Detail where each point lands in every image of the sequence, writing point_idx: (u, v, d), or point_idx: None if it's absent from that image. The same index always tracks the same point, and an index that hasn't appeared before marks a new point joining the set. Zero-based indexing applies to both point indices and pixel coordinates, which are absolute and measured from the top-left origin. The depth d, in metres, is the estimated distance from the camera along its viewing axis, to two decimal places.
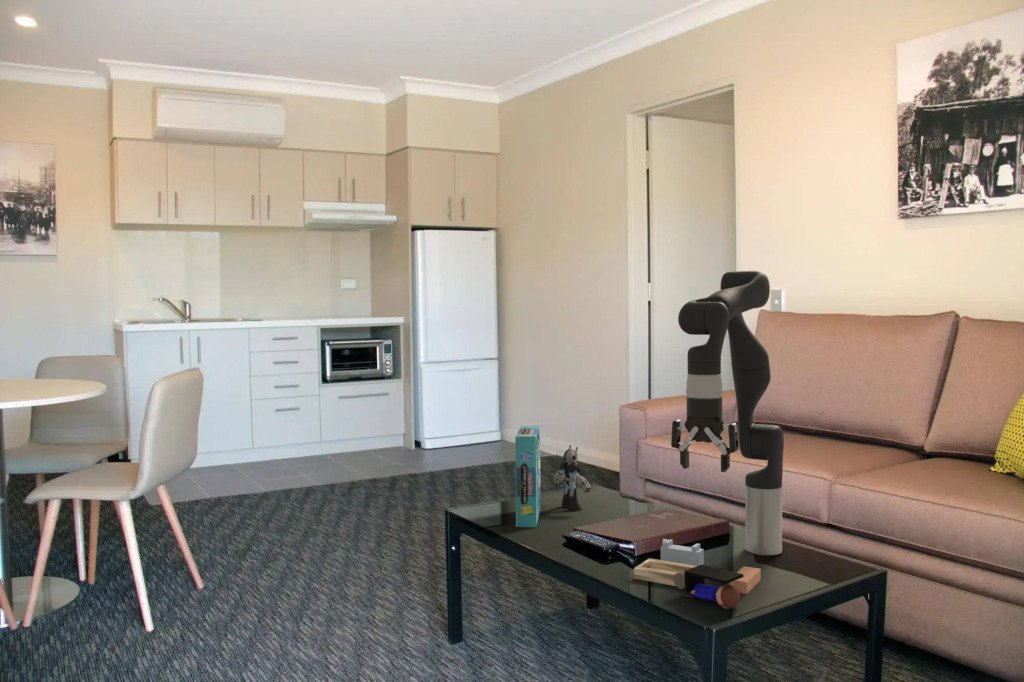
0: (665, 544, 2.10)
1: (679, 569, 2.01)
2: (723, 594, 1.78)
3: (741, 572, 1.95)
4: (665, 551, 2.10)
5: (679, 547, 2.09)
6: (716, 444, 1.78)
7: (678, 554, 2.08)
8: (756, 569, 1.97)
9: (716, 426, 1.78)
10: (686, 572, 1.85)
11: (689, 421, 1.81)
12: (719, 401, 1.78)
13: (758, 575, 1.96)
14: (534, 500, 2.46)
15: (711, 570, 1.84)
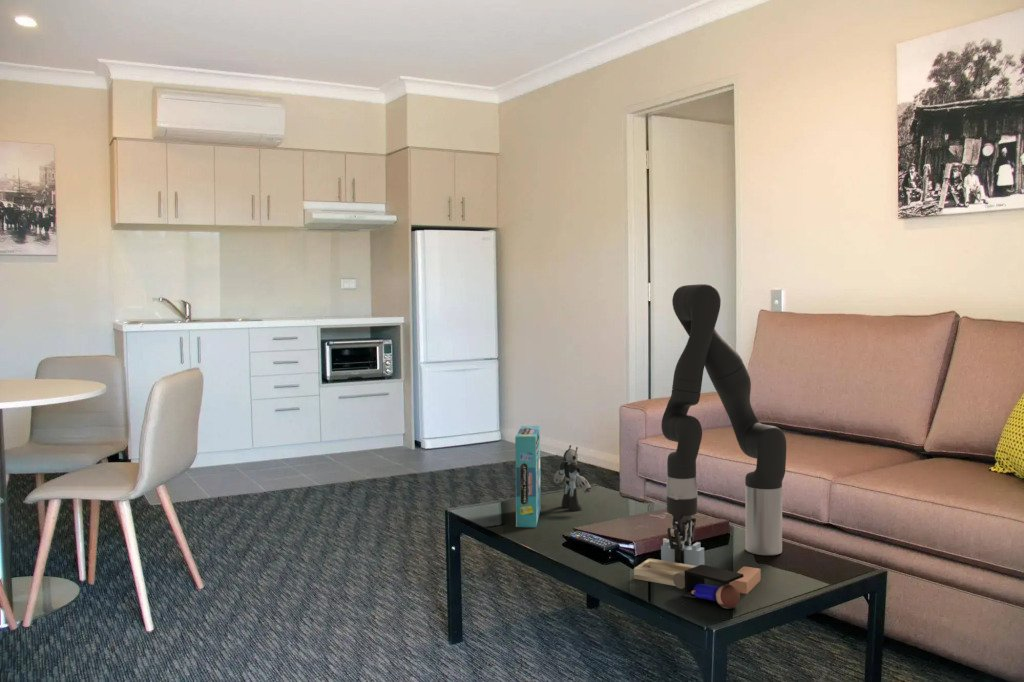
0: (665, 543, 2.10)
1: (679, 569, 2.01)
2: (723, 594, 1.78)
3: (741, 572, 1.95)
4: (665, 550, 2.10)
5: None
6: (691, 536, 2.10)
7: None
8: (756, 569, 1.97)
9: (690, 517, 2.11)
10: (686, 572, 1.85)
11: (681, 521, 2.05)
12: None
13: (758, 575, 1.96)
14: (534, 500, 2.46)
15: (711, 570, 1.84)
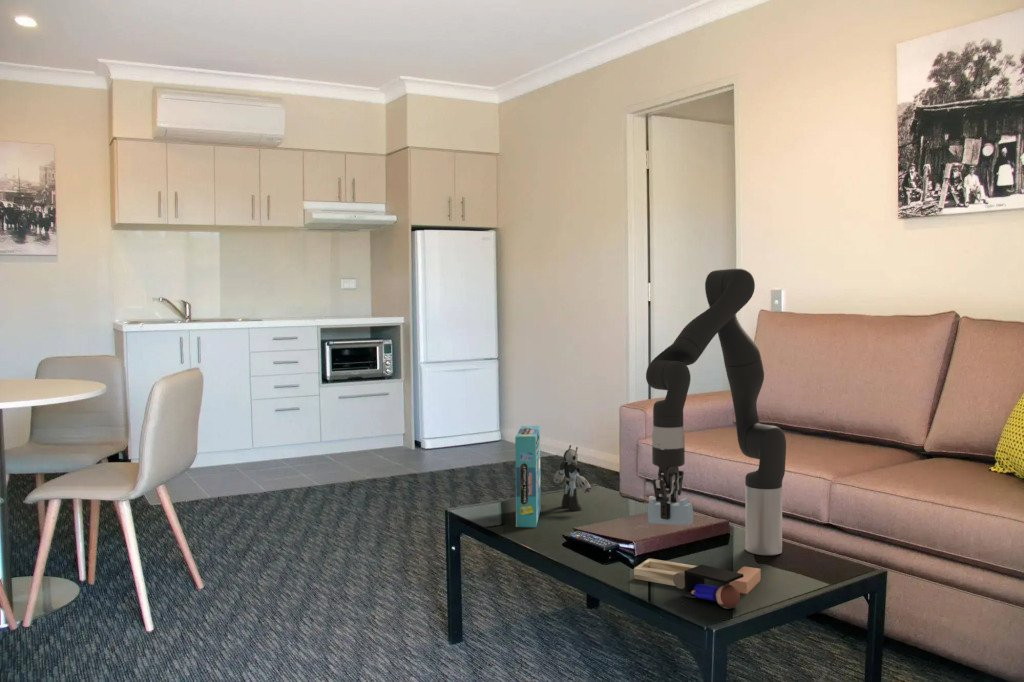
0: (652, 501, 1.99)
1: (679, 569, 2.01)
2: (723, 594, 1.78)
3: (741, 572, 1.95)
4: (652, 508, 1.99)
5: None
6: (678, 489, 1.99)
7: None
8: (756, 569, 1.97)
9: (677, 470, 2.00)
10: (686, 572, 1.85)
11: (667, 472, 1.95)
12: None
13: (758, 575, 1.96)
14: (534, 500, 2.46)
15: (711, 570, 1.84)
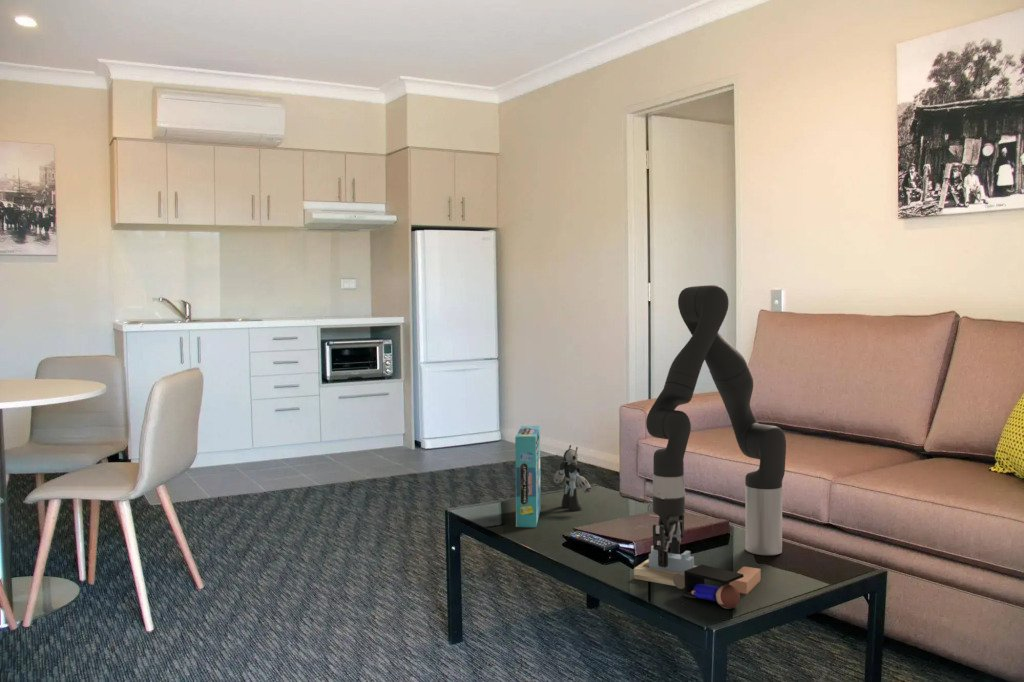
0: (653, 551, 2.00)
1: None
2: (723, 594, 1.78)
3: (741, 572, 1.95)
4: (653, 558, 2.00)
5: (668, 555, 1.99)
6: (680, 535, 2.01)
7: (668, 561, 1.98)
8: (756, 569, 1.97)
9: (677, 518, 2.01)
10: (686, 572, 1.85)
11: (668, 521, 1.96)
12: None
13: (758, 575, 1.96)
14: (534, 500, 2.46)
15: (711, 570, 1.84)
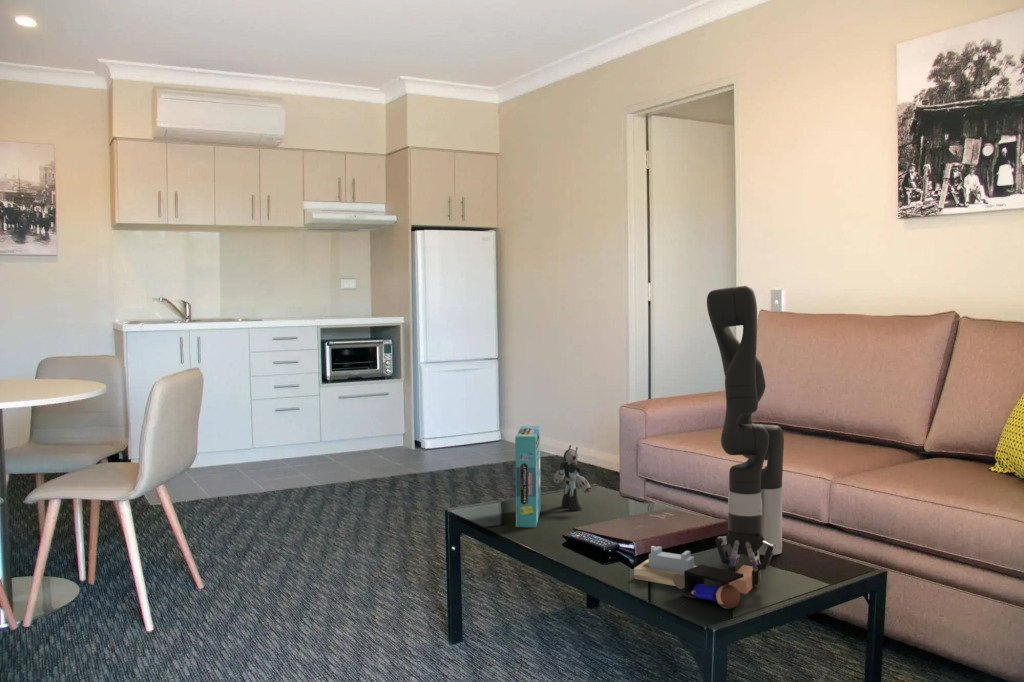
0: (653, 551, 2.00)
1: None
2: (723, 594, 1.78)
3: (741, 571, 1.95)
4: (653, 558, 2.00)
5: (668, 555, 1.99)
6: None
7: (668, 561, 1.98)
8: None
9: None
10: (686, 572, 1.85)
11: None
12: None
13: None
14: (534, 500, 2.46)
15: (711, 570, 1.84)
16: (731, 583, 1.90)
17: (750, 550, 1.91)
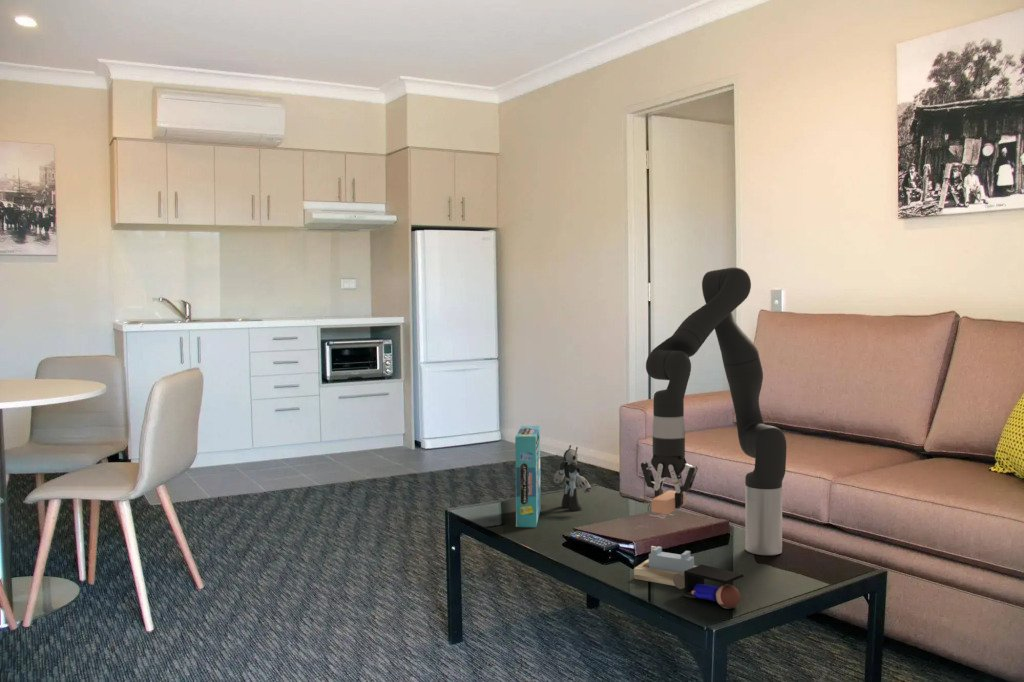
0: (653, 551, 2.00)
1: None
2: (723, 594, 1.78)
3: (665, 494, 2.00)
4: (653, 558, 2.00)
5: (668, 555, 1.99)
6: None
7: (668, 561, 1.98)
8: None
9: None
10: (686, 572, 1.85)
11: None
12: None
13: None
14: (534, 500, 2.46)
15: (711, 570, 1.84)
16: (654, 504, 1.95)
17: (673, 472, 1.96)
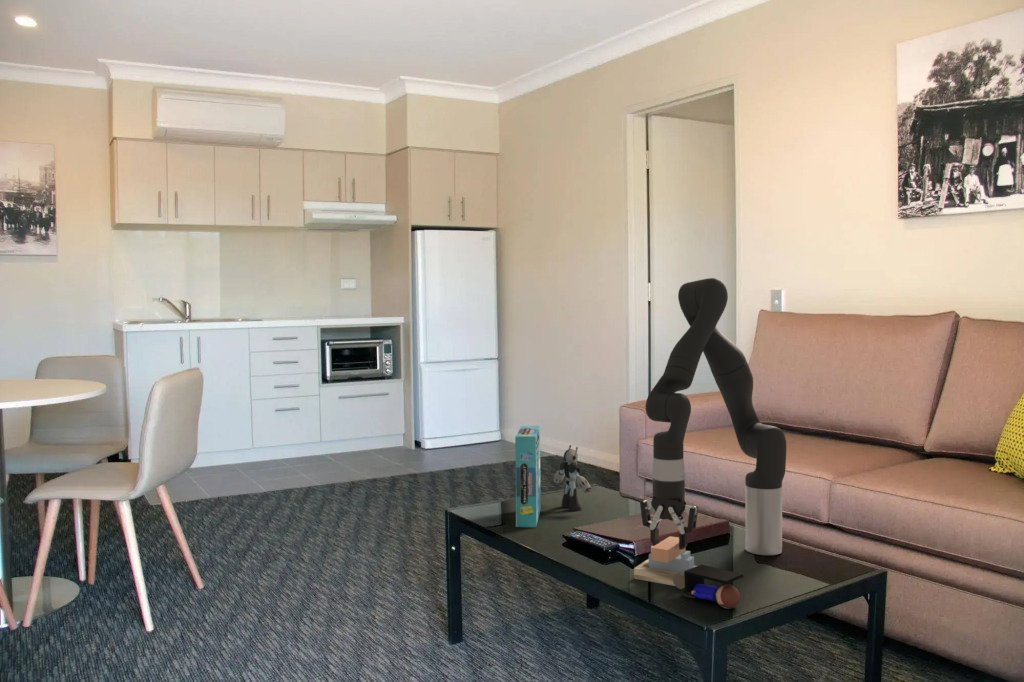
0: None
1: None
2: (724, 594, 1.78)
3: (665, 541, 2.00)
4: None
5: None
6: None
7: None
8: None
9: None
10: (686, 572, 1.85)
11: None
12: None
13: None
14: (534, 500, 2.46)
15: (711, 570, 1.84)
16: (654, 552, 1.95)
17: (674, 514, 1.96)
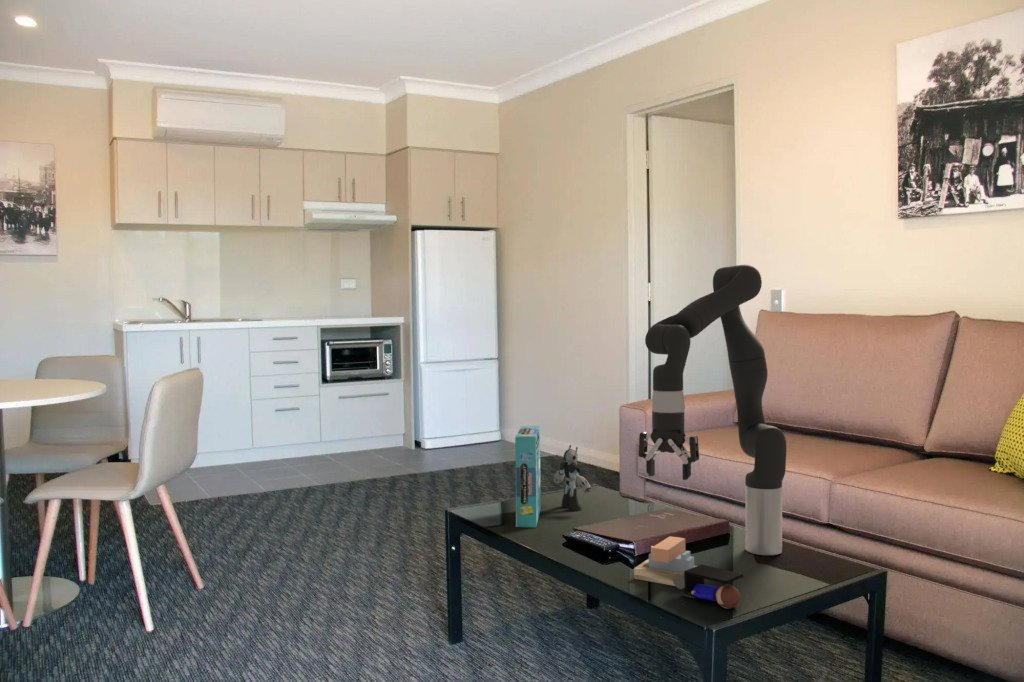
0: None
1: None
2: (724, 594, 1.78)
3: (665, 541, 2.00)
4: None
5: None
6: None
7: None
8: (681, 539, 2.02)
9: None
10: (686, 572, 1.85)
11: None
12: None
13: (682, 544, 2.01)
14: (534, 500, 2.46)
15: (711, 570, 1.84)
16: (654, 552, 1.95)
17: (674, 446, 1.96)
